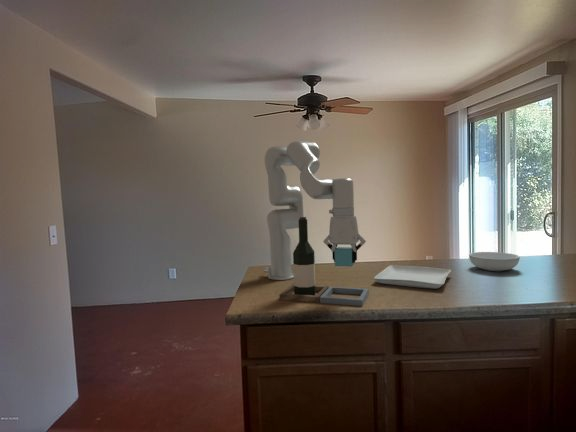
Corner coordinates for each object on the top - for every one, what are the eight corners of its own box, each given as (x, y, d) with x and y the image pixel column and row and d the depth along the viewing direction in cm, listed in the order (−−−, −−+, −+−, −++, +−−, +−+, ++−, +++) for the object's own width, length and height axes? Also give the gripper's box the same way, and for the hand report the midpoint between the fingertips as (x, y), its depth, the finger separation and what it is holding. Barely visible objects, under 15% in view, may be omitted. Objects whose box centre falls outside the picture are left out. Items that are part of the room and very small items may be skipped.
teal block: (334, 266, 133) (334, 249, 133) (338, 262, 139) (338, 247, 139) (351, 266, 131) (351, 249, 131) (354, 263, 137) (354, 247, 137)
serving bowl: (519, 267, 178) (519, 252, 177) (519, 276, 160) (519, 260, 160) (471, 263, 189) (471, 250, 189) (466, 271, 172) (466, 257, 171)
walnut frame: (279, 299, 137) (279, 294, 137) (293, 289, 151) (292, 284, 151) (318, 302, 132) (318, 297, 132) (328, 291, 146) (328, 286, 146)
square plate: (389, 272, 177) (389, 264, 177) (451, 277, 164) (451, 268, 163) (372, 285, 154) (372, 276, 154) (443, 293, 140) (443, 283, 140)
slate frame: (320, 302, 132) (320, 297, 132) (330, 291, 146) (330, 286, 146) (362, 306, 127) (362, 300, 127) (368, 294, 141) (368, 288, 141)
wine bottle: (309, 299, 136) (307, 218, 134) (290, 296, 140) (287, 217, 138) (319, 293, 143) (317, 216, 141) (301, 291, 147) (298, 216, 145)
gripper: (317, 213, 133) (319, 263, 135) (366, 213, 128) (367, 264, 129) (322, 212, 141) (324, 259, 142) (369, 211, 135) (370, 260, 136)
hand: (344, 261), depth 135 cm, fingers closed on teal block, 6 cm apart
